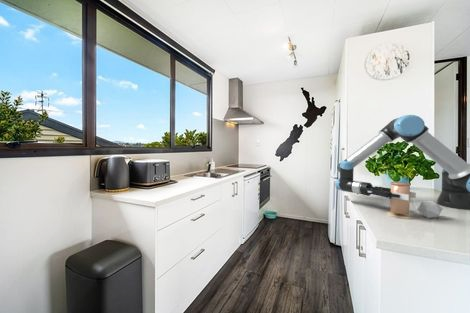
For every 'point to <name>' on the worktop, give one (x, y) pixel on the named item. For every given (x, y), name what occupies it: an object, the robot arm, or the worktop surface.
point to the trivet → (400, 215)
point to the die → (429, 209)
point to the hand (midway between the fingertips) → (412, 196)
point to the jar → (400, 204)
